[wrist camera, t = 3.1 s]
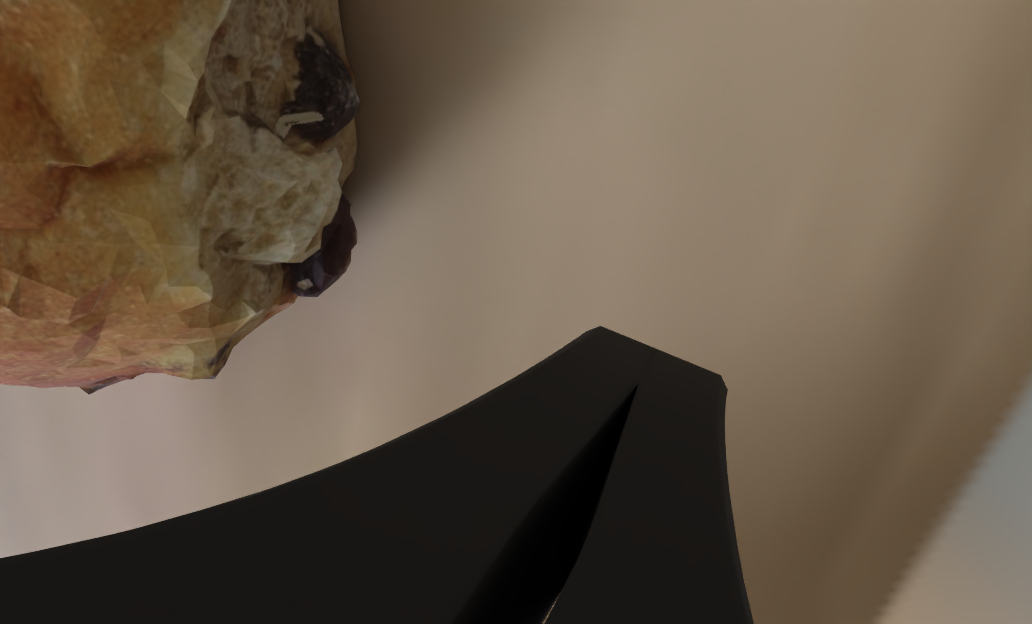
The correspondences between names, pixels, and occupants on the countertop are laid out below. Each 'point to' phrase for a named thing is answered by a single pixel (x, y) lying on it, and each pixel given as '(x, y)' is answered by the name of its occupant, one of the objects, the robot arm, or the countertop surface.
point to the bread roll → (165, 180)
